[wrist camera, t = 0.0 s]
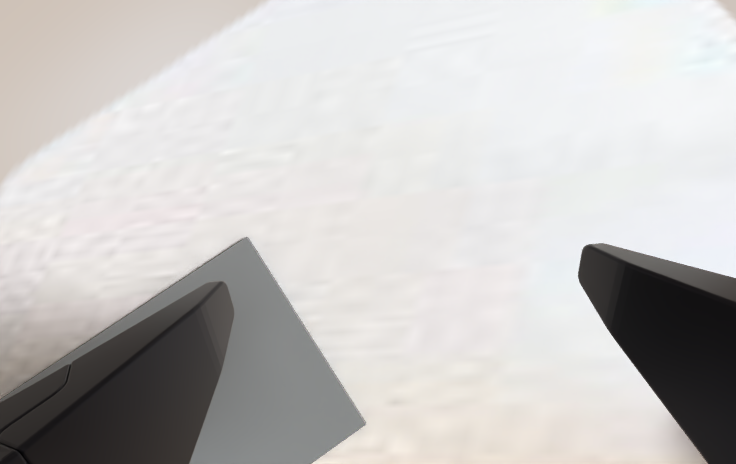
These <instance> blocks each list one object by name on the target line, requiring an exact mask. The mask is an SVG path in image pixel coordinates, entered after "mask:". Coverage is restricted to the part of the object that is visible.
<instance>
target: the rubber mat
mask: <svg viewBox="0 0 736 464" xmlns="http://www.w3.org/2000/svg"><path fill="white" fill-rule="evenodd" d="M213 281H224V282H225V283H226V284H227V286H228V290H229V293H230V296H231V300H232V303H233V306H234V320H233V325H232V329H231V333H230V338H229V342H228V347H227V351H226V356H225V360H224V364H223V368H222V372H221V375H220V378H219V381H218V384H217V387H216V389H215V392H214V395H213V398H212V401H211V404H210V406H209V409H208V412H207V415H206V418H205V421H204V424H203V426H202V429H201V432H200V435H199V438H198V441H197V444H196V446H195V449H194V452H193V455H192V458H191V461H190V463H189V464H311V463H313V462H314V461H316V460H317V459H318V458H320V457H321V456H323V455H324V454H325V453H327V452H328V451H330V450H331V449H332V448H334V447H335V446H337V445H338V444H339V443H341V442H342V441H344V440H345V439H346V438H348V437H349V436H351V435H352V434H353V433H355V432H356V431H358V430H359V429H360V428H362V427H363V426H365V425H366V422H365V420H364V419H363V417H362V416H361V414H360V413H359V411H358V409H357V408H356V406H355V405H354V403H353V402H352V400H351V398H350V397H349V395H348V394H347V392H346V391H345V389H344V387H343V386H342V384H341V383H340V381H339V380H338V378H337V376H336V375H335V373H334V372H333V370H332V369H331V367H330V365H329V364H328V362H327V361H326V359H325V357H324V356H323V354H322V353H321V351H320V350H319V348H318V346H317V345H316V343H315V342H314V340H313V339H312V337H311V335H310V334H309V332H308V331H307V329H306V328H305V326H304V324H303V323H302V321H301V320H300V318H299V317H298V315H297V313H296V312H295V310H294V309H293V307H292V306H291V304H290V302H289V301H288V299H287V298H286V296H285V295H284V293H283V291H282V290H281V288H280V287H279V285H278V283H277V282H276V280H275V279H274V277H273V276H272V274H271V272H270V271H269V269H268V268H267V266H266V265H265V263H264V261H263V260H262V258H261V257H260V255H259V254H258V252H257V250H256V249H255V247H254V246H253V244H252V243H251V241H250V239H249V238H248V237H246V238H244V239H243V240H241V241H240V242H238V243H236V244H235V245H233V246H232V247H230V248H229V249H227V250H226V251H224V252H223V253H221V254H220V255H218V256H217V257H215V258H214V259H212V260H211V261H209V262H208V263H206V264H205V265H203V266H202V267H200V268H199V269H197V270H196V271H194V272H192V273H191V274H189V275H188V276H186V277H185V278H183V279H182V280H180V281H179V282H177V283H176V284H174V285H173V286H171V287H170V288H168V289H167V290H165V291H164V292H162V293H161V294H159V295H158V296H156V297H155V298H153V299H151V300H150V301H148V302H147V303H145V304H144V305H142V306H141V307H139V308H138V309H136V310H135V311H133V312H132V313H130V314H129V315H127V316H126V317H124V318H123V319H121V320H120V321H118V322H117V323H115V324H114V325H112V326H110V327H109V328H107V329H106V330H104V331H103V332H101V333H100V334H98V335H97V336H95V337H94V338H92V339H91V340H89V341H88V342H86V343H85V344H83V345H82V346H80V347H79V348H77V349H76V350H74V351H73V352H71V353H69V354H68V355H66V356H65V357H63V358H62V359H60V360H59V361H57V362H56V363H54V364H53V365H51V366H50V367H48V368H47V369H45V370H44V371H42V372H41V373H39V374H38V375H36V376H35V377H33V378H32V379H30V380H29V381H27V382H25V383H24V384H22V385H21V386H19V387H18V388H16V389H15V390H13V391H12V392H10V393H9V394H7V395H6V396H4V397H3V398H1V399H0V402H1V401H3V400H5V399H7V398H9V397H11V396H12V395H14V394H16V393H18V392H20V391H22V390H23V389H25V388H27V387H29V386H30V385H32V384H34V383H36V382H37V381H39V380H41V379H43V378H44V377H46V376H48V375H50V374H51V373H53V372H55V371H56V370H58V369H60V368H62V367H63V366H65V365H67V364H71V363H72V361H74V360H75V359H77V358H79V357H80V356H82V355H84V354H86V353H87V352H89V351H91V350H92V349H94V348H96V347H98V346H99V345H101V344H103V343H104V342H106V341H108V340H110V339H111V338H113V337H115V336H116V335H118V334H120V333H121V332H123V331H125V330H127V329H128V328H130V327H132V326H133V325H135V324H137V323H139V322H140V321H142V320H144V319H145V318H147V317H149V316H151V315H152V314H154V313H156V312H157V311H159V310H161V309H162V308H164V307H166V306H168V305H169V304H171V303H173V302H174V301H176V300H178V299H180V298H181V297H183V296H185V295H186V294H188V293H190V292H191V291H193V290H195V289H197V288H198V287H200V286H202V285H203V284H205V283H207V282H213Z"/></svg>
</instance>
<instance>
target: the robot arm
mask: <svg viewBox="0 0 736 464" xmlns="http://www.w3.org/2000/svg"><path fill="white" fill-rule="evenodd" d="M578 278H579V282H580V284H581V286H582V287H583V289H584V291H585V292H586V294H587V296H588V297H589V299H590V301H591V302H592V304H593V306H594V307H595V309H596V311H597V312H598V314H599V316H600V317H601V319H602V321H603V323H604V324H605V326H606V327H607V329H608V330H609V332H610V333H611V335H612V336H613V338H614V339H615V340H616V342H617V343H618V344H619V346H620V347H621V348H622V350H623V351H624V352H625V354H626V355H627V356H628V358H629V359H630V360H631V362H632V363H633V364H634V366H635V367H636V368H637V370H638V371H639V372H640V374H641V375H642V376H643V378H644V379H645V380H646V382H647V383H648V384H649V386H650V387H651V388H652V390H653V391H654V392H655V394H656V395H657V396H658V398H659V399H660V400H661V402H662V403H663V404H664V406H665V407H666V408H667V410H668V411H669V412H670V414H671V415H672V416H673V418H674V419H675V420H676V422H677V423H678V424H679V426H680V427H681V428H682V430H683V431H684V432H685V434H686V435H687V436H688V438H689V439H690V440H691V442H692V443H693V444H694V446H695V447H696V448H697V450H698V451H699V452H700V454H701V455H702V456H703V458H704V459H705V460H706V462H707V463H708V464H736V278H733V277H729V276H725V275H721V274H717V273H714V272H710V271H706V270H702V269H699V268H695V267H691V266H687V265H683V264H680V263H676V262H672V261H668V260H664V259H661V258H657V257H653V256H649V255H646V254H642V253H638V252H634V251H630V250H627V249H623V248H619V247H615V246H611V245H608V244H603V243H599V244H589V245H586V246H585V247H584V248H583V250H582V254H581V260H580V266H579V272H578ZM233 320H234V306H233V303H232V300H231V296H230V293H229V290H228V286H227V284H226V283H225V282H224V281H213V282H207V283H205V284H203V285H202V286H200V287H198V288H197V289H195V290H193V291H191V292H190V293H188V294H186V295H185V296H183V297H181V298H180V299H178V300H176V301H174V302H173V303H171V304H169V305H168V306H166V307H164V308H162V309H161V310H159V311H157V312H156V313H154V314H152V315H151V316H149V317H147V318H145V319H144V320H142V321H140V322H139V323H137V324H135V325H133V326H132V327H130V328H128V329H127V330H125V331H123V332H121V333H120V334H118V335H116V336H115V337H113V338H111V339H110V340H108V341H106V342H104V343H103V344H101V345H99V346H98V347H96V348H94V349H92V350H91V351H89V352H87V353H86V354H84V355H82V356H80V357H79V358H77V359H75V360H74V361H72V363H71V364H67V365H65V366H63V367H62V368H60V369H58V370H56V371H55V372H53V373H51V374H50V375H48V376H46V377H44V378H43V379H41V380H39V381H37V382H36V383H34V384H32V385H30V386H29V387H27V388H25V389H23V390H22V391H20V392H18V393H16V394H14V395H12V396H11V397H9V398H7V399H5V400H3V401H1V402H0V464H189V463H190V461H191V458H192V455H193V452H194V449H195V446H196V444H197V441H198V438H199V435H200V432H201V429H202V426H203V424H204V421H205V418H206V415H207V412H208V409H209V406H210V404H211V401H212V398H213V395H214V392H215V389H216V387H217V384H218V381H219V378H220V375H221V372H222V368H223V364H224V360H225V356H226V351H227V347H228V342H229V338H230V333H231V329H232V325H233Z"/></svg>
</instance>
